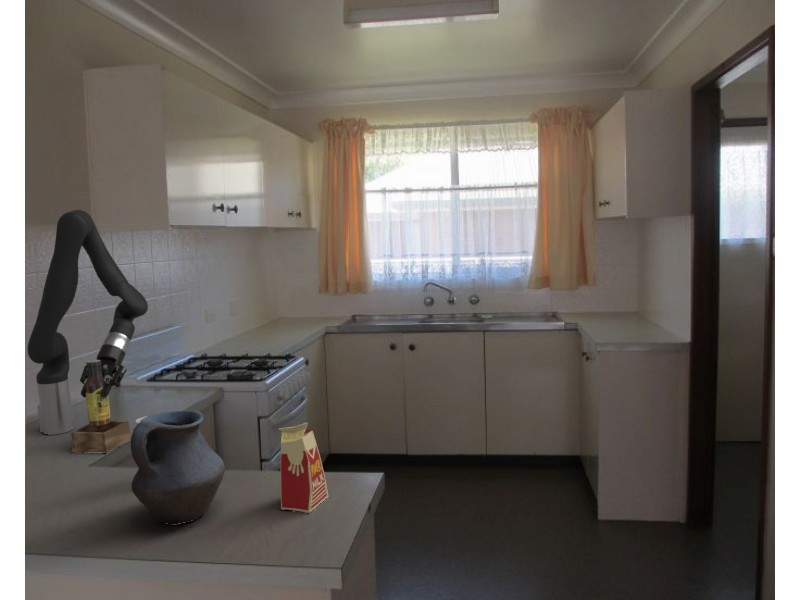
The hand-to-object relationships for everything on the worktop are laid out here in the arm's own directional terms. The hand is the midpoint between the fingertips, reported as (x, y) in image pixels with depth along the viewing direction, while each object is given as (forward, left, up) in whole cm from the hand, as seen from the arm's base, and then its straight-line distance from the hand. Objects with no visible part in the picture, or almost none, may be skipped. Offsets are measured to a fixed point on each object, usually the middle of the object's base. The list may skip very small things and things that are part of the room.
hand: (93, 396), depth 198 cm
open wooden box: (0, +2, -16) cm, 16 cm away
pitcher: (+52, -39, -17) cm, 67 cm away
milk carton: (+78, -29, -17) cm, 85 cm away
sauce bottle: (0, +2, -10) cm, 10 cm away
